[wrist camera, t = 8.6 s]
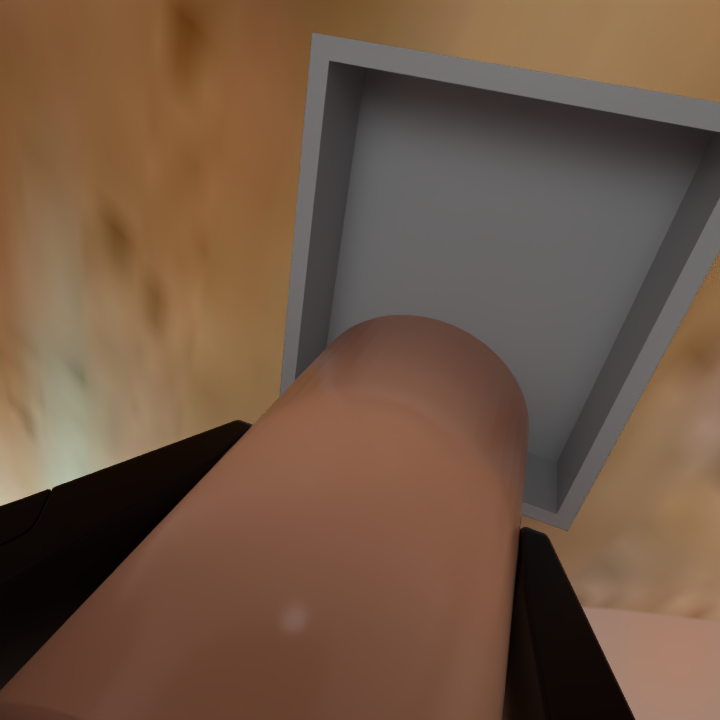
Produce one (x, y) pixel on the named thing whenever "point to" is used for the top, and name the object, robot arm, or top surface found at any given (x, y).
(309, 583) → the terracotta cylinder
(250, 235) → the top surface
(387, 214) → the bin
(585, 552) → the top surface
